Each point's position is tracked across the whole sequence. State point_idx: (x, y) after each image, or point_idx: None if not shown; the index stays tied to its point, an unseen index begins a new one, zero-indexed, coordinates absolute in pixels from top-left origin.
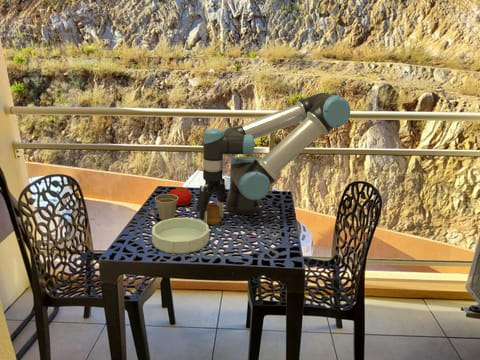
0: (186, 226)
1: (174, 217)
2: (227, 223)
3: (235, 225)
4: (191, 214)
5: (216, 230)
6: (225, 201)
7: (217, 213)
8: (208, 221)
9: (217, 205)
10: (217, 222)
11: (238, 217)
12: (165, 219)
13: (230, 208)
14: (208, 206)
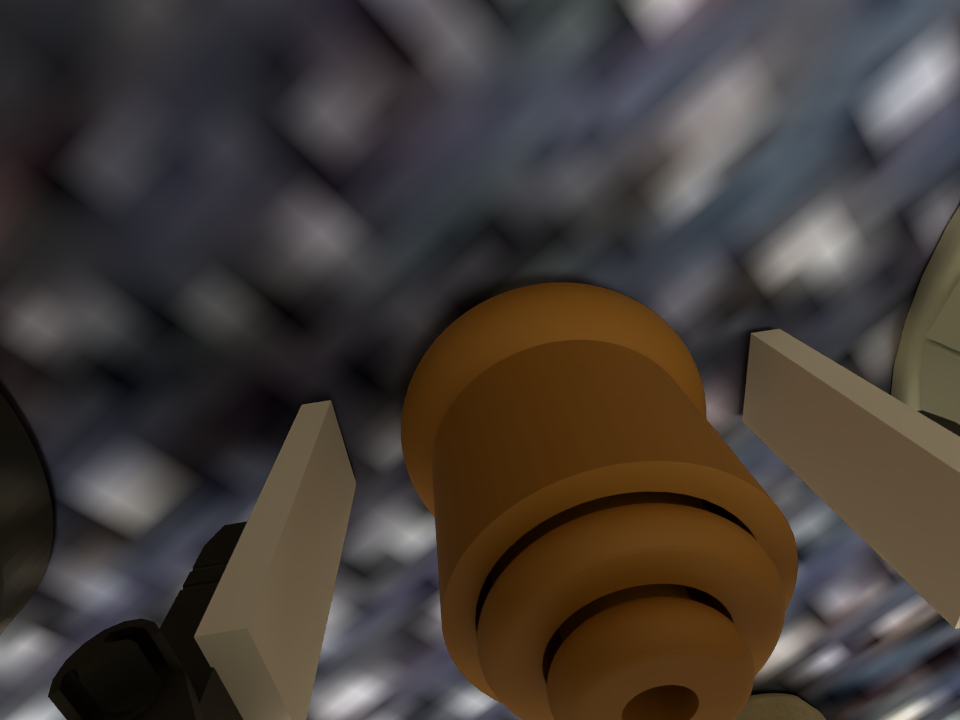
0: None
1: None
2: (414, 197)
3: (366, 3)
4: None
5: (766, 139)
6: (120, 650)
7: (612, 393)
8: (703, 392)
9: (548, 588)
10: (601, 287)
11: (52, 230)
12: (823, 716)
13: (2, 515)
14: (758, 661)
